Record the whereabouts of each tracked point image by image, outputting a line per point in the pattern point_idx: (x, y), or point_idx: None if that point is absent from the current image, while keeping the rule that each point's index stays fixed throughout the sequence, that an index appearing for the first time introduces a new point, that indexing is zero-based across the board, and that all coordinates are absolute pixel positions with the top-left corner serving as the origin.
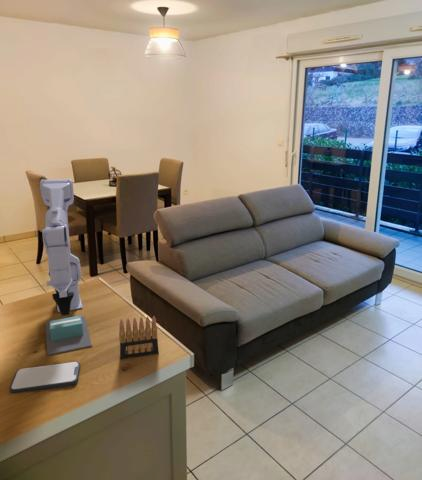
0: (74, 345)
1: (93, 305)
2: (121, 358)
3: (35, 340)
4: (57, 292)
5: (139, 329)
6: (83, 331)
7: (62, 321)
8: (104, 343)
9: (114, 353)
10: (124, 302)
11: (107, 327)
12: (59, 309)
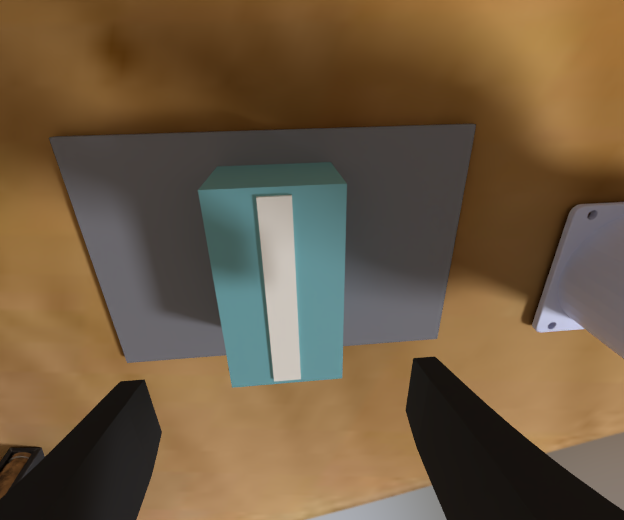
0: (139, 290)
1: (526, 370)
2: (8, 452)
3: (275, 47)
4: (508, 504)
5: None
6: None
7: (295, 280)
8: None
9: (57, 431)
10: None
11: (287, 414)
12: (43, 459)
